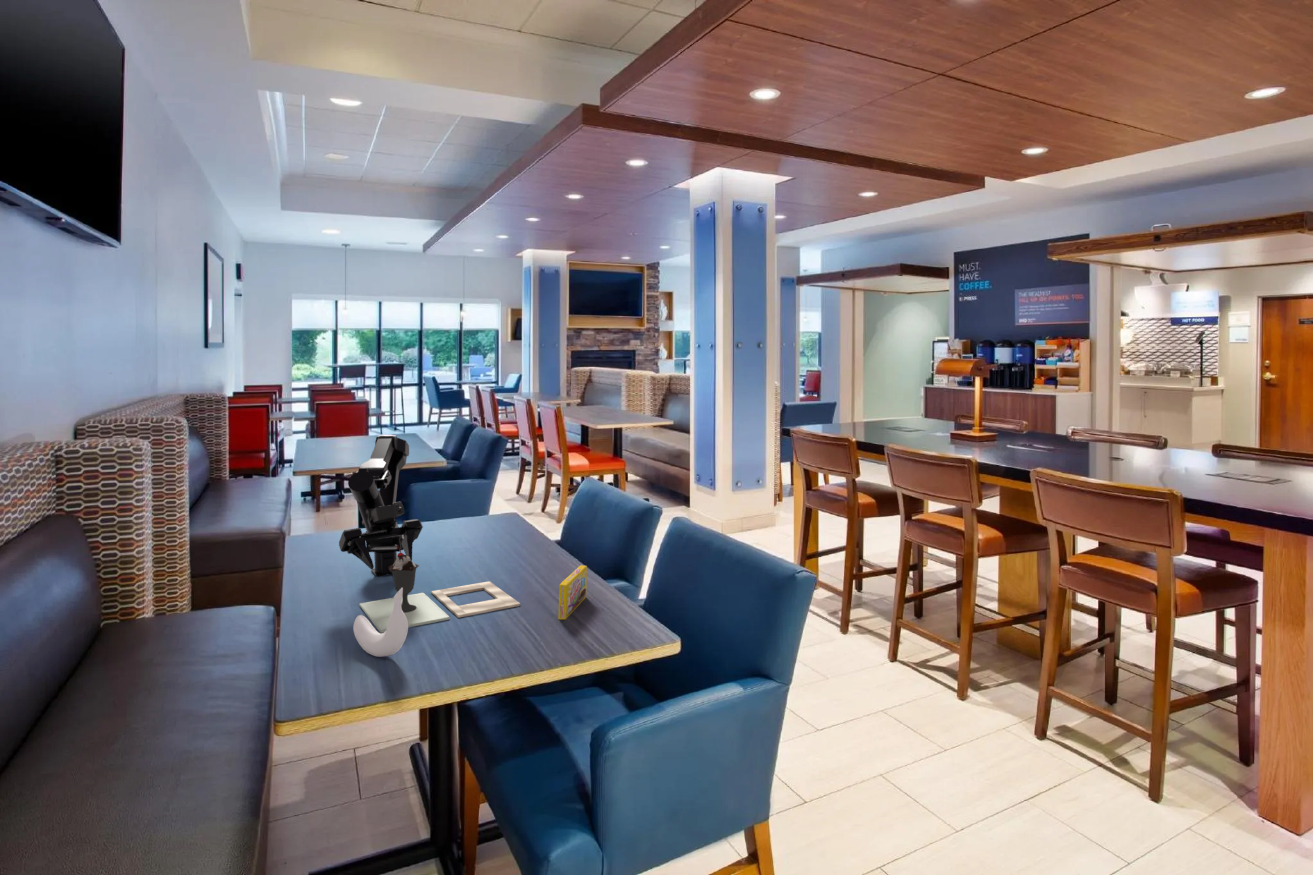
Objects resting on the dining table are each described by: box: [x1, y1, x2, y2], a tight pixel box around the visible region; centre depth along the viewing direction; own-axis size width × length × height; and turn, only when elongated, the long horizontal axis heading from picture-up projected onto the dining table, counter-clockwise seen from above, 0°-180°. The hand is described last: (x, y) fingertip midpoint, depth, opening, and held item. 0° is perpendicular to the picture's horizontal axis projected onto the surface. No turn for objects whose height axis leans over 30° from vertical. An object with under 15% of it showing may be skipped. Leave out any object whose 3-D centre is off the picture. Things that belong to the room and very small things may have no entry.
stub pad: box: [359, 592, 450, 634], centre depth 176 cm, size 20×15×1 cm
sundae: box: [388, 545, 420, 613], centre depth 175 cm, size 7×7×15 cm
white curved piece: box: [352, 588, 409, 658], centre depth 152 cm, size 5×19×15 cm, turn 52°
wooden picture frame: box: [430, 580, 521, 619], centre depth 185 cm, size 20×15×1 cm
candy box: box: [557, 564, 588, 621], centre depth 179 cm, size 16×2×8 cm, turn 168°
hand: (392, 564), depth 180 cm, fingers open, 9 cm apart
